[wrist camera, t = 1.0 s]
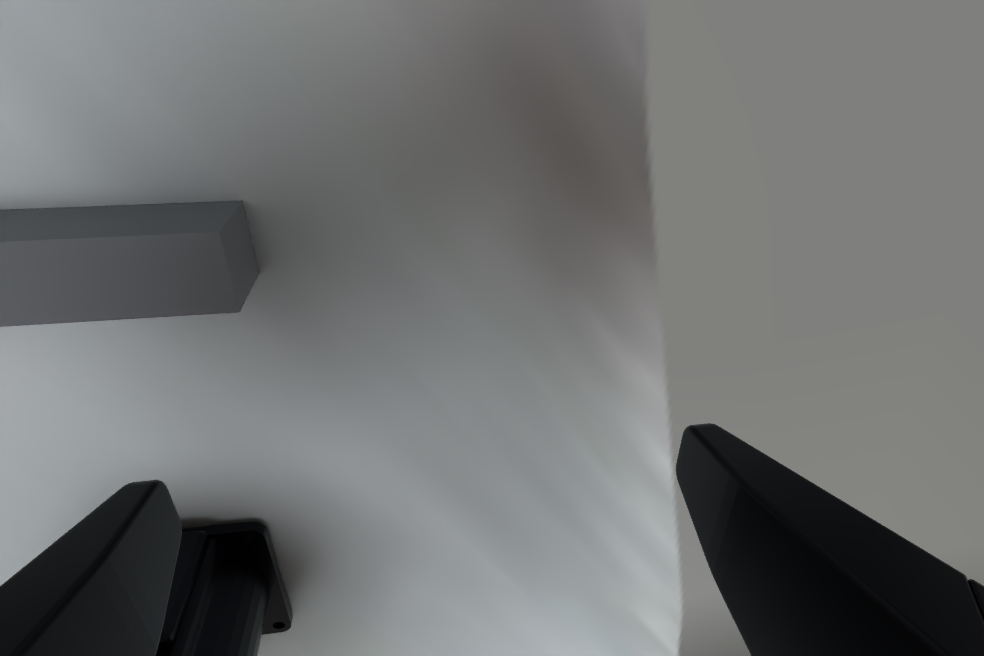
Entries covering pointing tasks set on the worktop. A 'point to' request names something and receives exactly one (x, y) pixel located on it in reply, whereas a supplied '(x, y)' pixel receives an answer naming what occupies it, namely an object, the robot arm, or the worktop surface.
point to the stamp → (124, 262)
